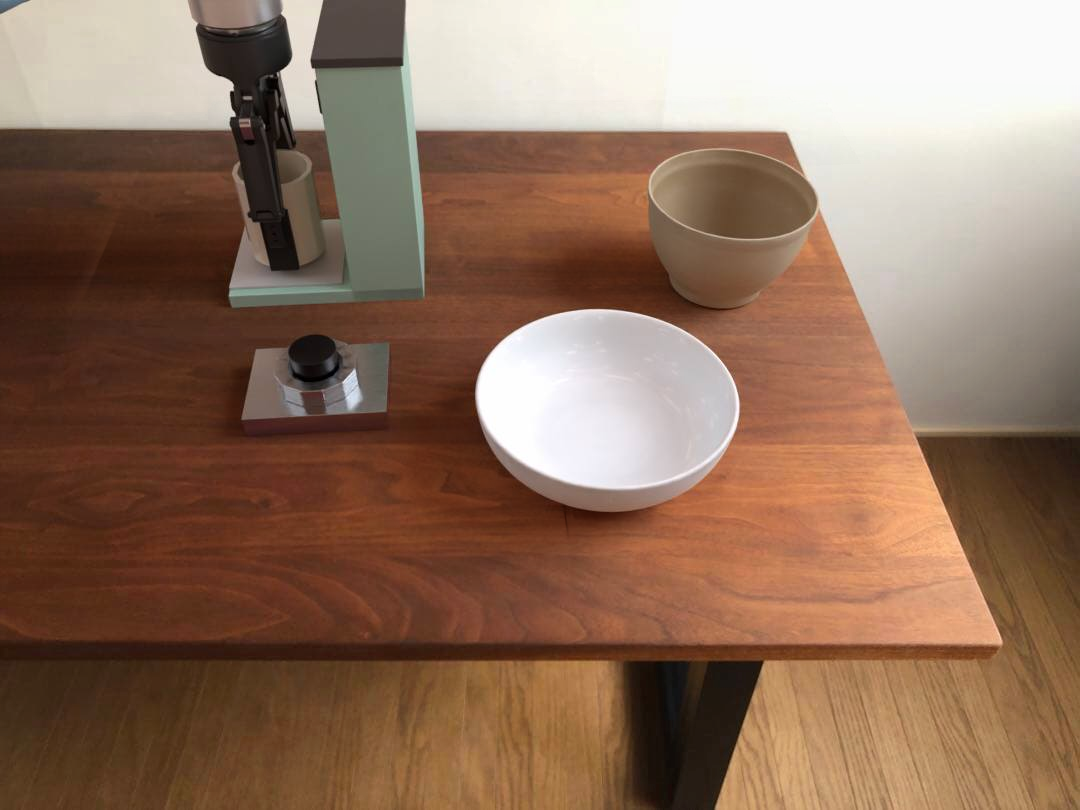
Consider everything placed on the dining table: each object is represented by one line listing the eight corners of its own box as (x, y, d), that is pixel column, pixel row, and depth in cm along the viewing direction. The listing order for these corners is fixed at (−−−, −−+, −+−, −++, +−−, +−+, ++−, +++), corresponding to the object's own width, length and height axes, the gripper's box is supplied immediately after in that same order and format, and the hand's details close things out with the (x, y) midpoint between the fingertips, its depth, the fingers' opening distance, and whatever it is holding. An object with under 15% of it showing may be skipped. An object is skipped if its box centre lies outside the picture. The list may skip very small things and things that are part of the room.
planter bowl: (647, 333, 86) (659, 238, 79) (630, 238, 98) (639, 147, 90) (811, 332, 87) (839, 238, 79) (776, 238, 98) (797, 147, 91)
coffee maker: (231, 309, 88) (159, 63, 71) (250, 233, 98) (190, -1, 80) (426, 300, 90) (402, 56, 72) (426, 226, 99) (405, -5, 82)
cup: (247, 269, 89) (226, 189, 82) (257, 228, 94) (238, 150, 88) (323, 266, 89) (308, 187, 83) (328, 225, 95) (315, 147, 88)
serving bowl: (752, 540, 69) (769, 482, 64) (481, 553, 68) (477, 495, 63) (699, 360, 84) (710, 302, 79) (476, 369, 82) (473, 310, 78)
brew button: (289, 384, 75) (285, 366, 74) (294, 353, 78) (290, 335, 77) (337, 381, 76) (334, 363, 74) (341, 350, 79) (337, 332, 77)
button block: (246, 437, 76) (236, 404, 73) (260, 366, 82) (251, 333, 80) (389, 429, 77) (383, 396, 74) (391, 360, 83) (387, 326, 80)
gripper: (270, 68, 68) (318, 304, 85) (297, -26, 83) (334, 191, 99) (170, 71, 68) (237, 308, 84) (214, -25, 82) (265, 193, 98)
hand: (289, 244), depth 91 cm, fingers closed on cup, 7 cm apart
